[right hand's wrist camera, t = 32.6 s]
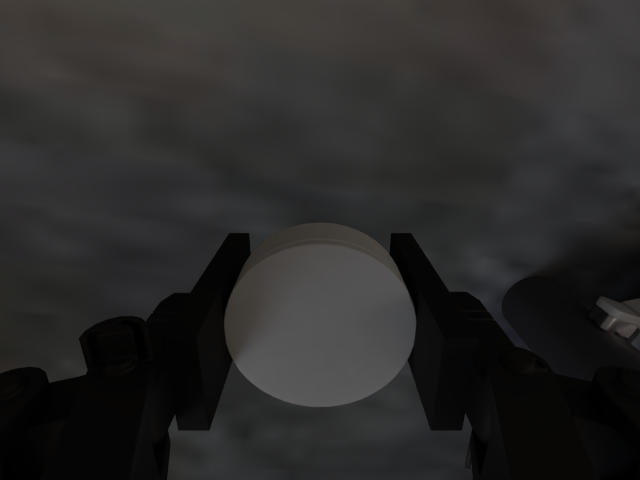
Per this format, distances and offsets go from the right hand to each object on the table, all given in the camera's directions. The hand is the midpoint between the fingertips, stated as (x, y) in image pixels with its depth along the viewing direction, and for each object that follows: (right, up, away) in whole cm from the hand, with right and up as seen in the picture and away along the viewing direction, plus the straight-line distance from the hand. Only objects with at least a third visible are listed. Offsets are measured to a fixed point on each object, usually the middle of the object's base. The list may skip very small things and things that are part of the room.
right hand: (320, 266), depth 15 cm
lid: (0, -1, -4) cm, 4 cm away
